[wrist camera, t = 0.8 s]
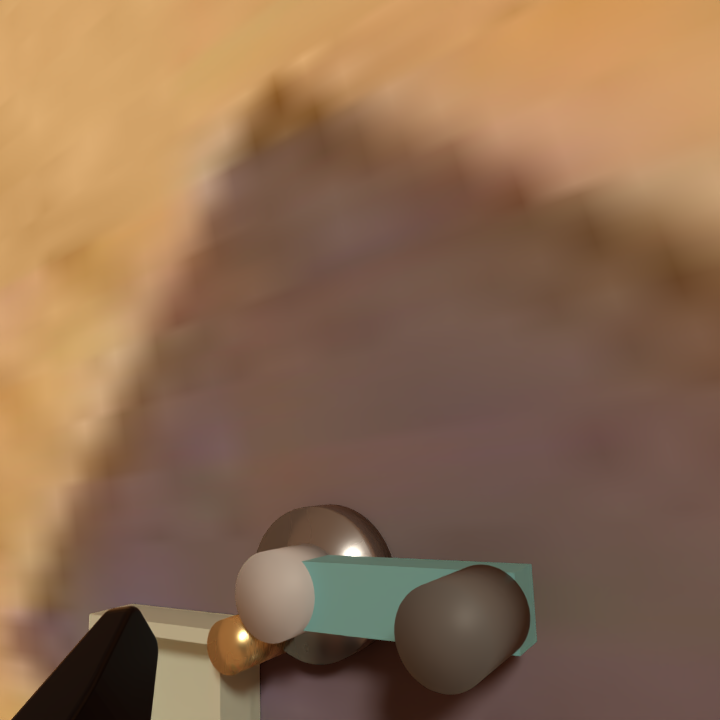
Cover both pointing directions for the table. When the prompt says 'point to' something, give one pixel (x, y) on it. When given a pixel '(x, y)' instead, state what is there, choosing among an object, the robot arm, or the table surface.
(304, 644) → the crank base
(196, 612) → the tray
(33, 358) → the table surface
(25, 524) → the table surface
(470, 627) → the crank
